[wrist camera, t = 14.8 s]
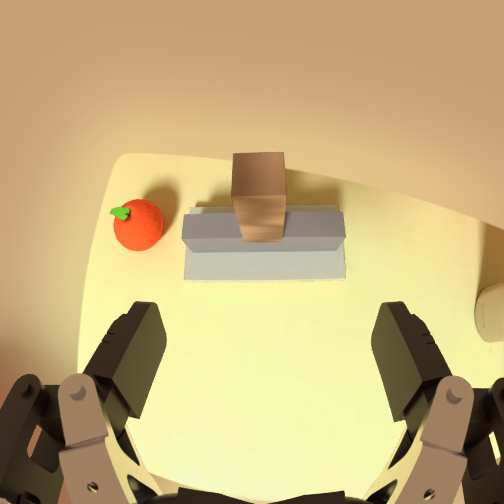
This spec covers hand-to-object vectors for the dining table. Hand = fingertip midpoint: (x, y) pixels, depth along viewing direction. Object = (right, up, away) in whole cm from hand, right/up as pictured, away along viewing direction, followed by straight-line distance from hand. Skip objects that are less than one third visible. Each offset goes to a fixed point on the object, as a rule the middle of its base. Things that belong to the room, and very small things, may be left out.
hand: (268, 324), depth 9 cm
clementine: (-16, +5, +29) cm, 33 cm away
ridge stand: (+1, +4, +27) cm, 27 cm away
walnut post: (+1, +5, +20) cm, 21 cm away
